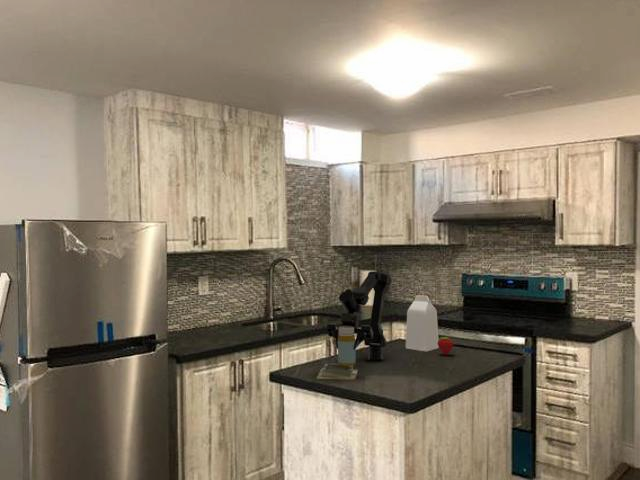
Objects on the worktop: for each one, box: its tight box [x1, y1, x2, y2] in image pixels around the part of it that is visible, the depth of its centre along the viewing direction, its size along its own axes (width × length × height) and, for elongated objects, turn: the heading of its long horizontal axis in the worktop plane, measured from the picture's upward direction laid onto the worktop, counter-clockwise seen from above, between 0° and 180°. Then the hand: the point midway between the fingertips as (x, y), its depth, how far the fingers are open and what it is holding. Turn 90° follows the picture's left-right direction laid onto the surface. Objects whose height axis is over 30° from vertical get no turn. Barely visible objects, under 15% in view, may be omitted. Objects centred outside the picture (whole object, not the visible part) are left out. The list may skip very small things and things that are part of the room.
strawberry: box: [437, 336, 454, 356], centre depth 265 cm, size 6×8×10 cm
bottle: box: [337, 325, 357, 367], centre depth 228 cm, size 7×7×15 cm
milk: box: [405, 294, 440, 353], centre depth 282 cm, size 12×12×26 cm
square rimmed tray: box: [316, 363, 359, 381], centre depth 230 cm, size 15×15×3 cm
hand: (345, 348), depth 227 cm, fingers closed on bottle, 7 cm apart
